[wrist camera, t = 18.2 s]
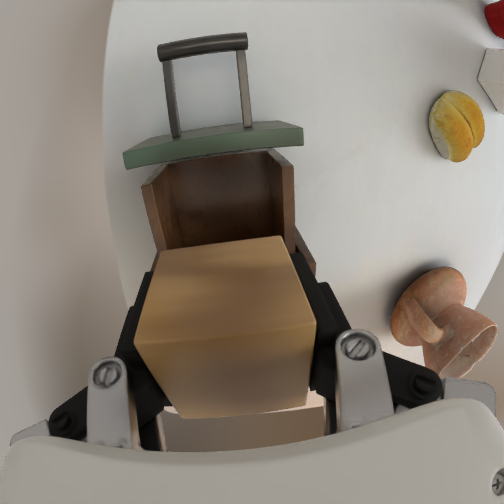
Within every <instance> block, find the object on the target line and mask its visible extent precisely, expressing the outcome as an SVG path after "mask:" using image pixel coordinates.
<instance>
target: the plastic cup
mask: <svg viewBox="0 0 504 504" xmlns="http://www.w3.org/2000/svg"><path fill="white" fill-rule="evenodd" d="M485 15H486V19H487V21H488V24H489V25H490V27H491V29H492V31H493V32H494V33H495V34H496V35H497V36H498V37H499V38H502V39H504V0H500V1H499V2H495V3H492V4H489V5H487V6H486V7H485Z"/></svg>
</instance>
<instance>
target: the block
mask: <svg viewBox="0 0 504 504" xmlns="http://www.w3.org/2000/svg"><path fill="white" fill-rule="evenodd" d="M316 323H317V322H316V319H315V317H314V314H313V312H312V309H311V307H310V304H309V302H308V299H307V297H306V294H305V292H304V289H303V287H302V284H301V282H300V280H299V277H298V275H297V272H296V270H295V268H294V265H293V263H292V260H291V258H290V256H289V253H288V251H287V248H286V246H285V244H284V241H283V239H282V237H281V236H271V237H263V238H255V239H247V240H239V241H232V242H224V243H216V244H209V245H201V246H194V247H187V248H179V249H172V250H165V251H161V253H160V255H159V258H158V261H157V264H156V267H155V270H154V273H153V276H152V279H151V283H150V286H149V289H148V292H147V295H146V299H145V302H144V305H143V309H142V312H141V316H140V319H139V323H138V326H137V330H136V334H135V338H134V345H135V347H136V349H137V351H138V352H139V354H140V356H141V357H142V359H143V361H144V362H145V364H146V366H147V367H148V369H149V371H150V372H151V374H152V375H153V377H154V378H155V380H156V382H157V383H158V385H159V386H160V388H161V389H162V391H163V392H164V394H165V395H166V397H167V398H168V399H169V401H170V402H171V404H172V405H173V407H174V408H175V409H176V411H177V412H178V413H179V415H180V416H181V417H182V418H183V419H189V418H190V419H192V418H213V417H227V416H238V415H248V414H256V413H264V412H270V411H277V410H283V409H289V408H294V407H299V406H304V405H306V400H307V393H308V387H309V380H310V373H311V366H312V358H313V350H314V341H315V333H316Z"/></svg>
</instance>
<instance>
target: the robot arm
mask: <svg viewBox="0 0 504 504" xmlns="http://www.w3.org/2000/svg"><path fill="white" fill-rule="evenodd" d="M289 256H290V258H291V260H292V263H293V265H294V268H295V270H296V272H297V275H298V277H299V280H300V282H301V284H302V287H303V289H304V292H305V294H306V297H307V299H308V302H309V304H310V307H311V309H312V312H313V314H314V317H315V319H316V322H317V323H316V333H315V341H314V350H313V358H312V366H311V373H310V380H309V387H310V391H314V390H316V393H317V394H319V395H321V396H323V397H324V437H319V438H316V439H311V440H306V441H301V442H296V443H291V444H285V445H278V446H271V447H264V448H256V449H248V450H237V451H222V452H168V450H167V446H166V441H165V436H164V431H163V426H162V420H161V415H160V412H161V411H163V410H164V406H172V404H171V402H170V401H169V399H168V398H167V397H166V395H165V394H164V392H163V391H162V389H161V388H160V386H159V385H158V383H157V382H156V380H155V378H154V377H153V375H152V374H151V372H150V371H149V369H148V367H147V366H146V364H145V362H144V361H143V359H142V357H141V356H140V354H139V352H138V351H137V349H136V347H135V345H134V338H135V334H136V330H137V326H138V323H139V319H140V316H141V312H142V309H143V305H144V302H145V299H146V295H147V292H148V289H149V286H150V283H151V279H152V276H153V273H154V271H150V272H146V273H145V275H144V278H143V280H142V283H141V286H140V289H139V292H138V295H137V298H136V301H135V303H134V306H131V307H130V309H129V311H128V314H127V317H126V320H125V323H124V326H123V329H122V332H121V335H120V339H119V342H118V345H117V349H116V352H115V355H114V357H105V358H102V359H101V360H99V361H97V362H96V363H95V364H94V365H93V366H92V368H91V370H90V373H89V377H88V378H89V379H88V386H87V387H85V388H84V389H83V390H82V391H80V392H79V393H77V394H76V395H74V396H73V397H72V398H70V399H69V400H68V401H66V402H65V403H63V404H62V405H61V406H59V407H58V408H56V409H55V410H54V411H53V412H52V414H51V416H50V419H49V421H47V420H46V419H45V420H43V421H41V422H39V423H37V424H35V425H33V426H31V427H28V428H26V429H24V430H22V431H20V432H18V433H16V434H15V435H14V436H13V437H12V439H11V442H10V448H9V450H8V452H7V454H6V456H5V459H4V463H3V466H2V470H1V475H0V504H504V431H503V429H502V427H501V425H500V424H499V422H498V420H497V419H496V394H495V391H494V389H493V387H492V386H490V385H489V384H487V383H485V382H478V381H471V380H465V379H459V378H453V377H447V376H445V378H444V379H441V378H440V377H439V375H438V374H437V373H436V372H435V371H433V370H431V369H429V368H426V367H424V366H421V365H418V364H415V363H413V362H410V361H407V360H404V359H402V358H399V357H396V356H394V355H391V354H389V353H386V352H383V351H382V349H381V345H380V342H379V340H378V338H377V337H376V336H375V335H374V334H372V333H371V332H369V331H366V330H363V329H351V327H350V325H349V323H348V321H347V319H346V317H345V315H344V313H343V311H342V309H341V307H340V305H339V303H338V301H337V299H336V297H335V295H334V293H333V291H332V290H331V288H330V286H329V284H328V283H327V282H322V283H317V281H316V278H315V276H314V274H313V272H312V270H311V268H310V266H309V264H308V262H307V260H306V258H305V256H304V254H303V253H302V252H297V253H289Z"/></svg>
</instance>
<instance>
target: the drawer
mask: <svg viewBox="0 0 504 504" xmlns="http://www.w3.org/2000/svg"><path fill="white" fill-rule="evenodd" d="M247 49H248V38H247V33H246V32H244V33H231V34H220V35H212V36H204V37H197V38H191V39H185V40H180V41H174V42H169V43H165V44H160V45H158V47H157V54H158V58H159V61H160V62H162V63H163V73H164V82H165V91H166V99H167V107H168V114H169V122H170V128H171V134H167V135H162V136H157V137H152V138H149V139H147V140H145V141H143V142H141V143H140V144H138V145H136V146H134V147H132V148H130V149H128V150H127V151H125V152H123V158H124V163H125V168H126V170H128V169H133V168H137V167H142V166H147V165H152V164H157V163H162V162H167V161H172V160H178V159H184V158H190V157H196V156H203V155H210V154H217V153H225V152H233V151H242V150H251V149H262V148H274V147H289V146H303V145H304V138H303V128H302V127H299V126H295V125H292V124H289V123H286V122H282V121H264V122H252V117H251V107H250V96H249V85H248V75H247V64H246V54H245V50H247ZM229 51H236V59H237V69H238V79H239V90H240V100H241V110H242V120H243V123H241V124H231V125H223V126H215V127H208V128H201V129H195V130H189V131H183V132H181V131H180V124H179V116H178V109H177V101H176V93H175V84H174V75H173V65H172V60H174V59H179V58H185V57H191V56H197V55H204V54H211V53H219V52H229ZM141 189H142V194H143V198H144V202H145V206H146V210H147V214H148V218H149V222H150V226H151V230H152V233H153V237H154V241H155V244H156V248H157V251H158V255H160V253H161V251H165V250H172V249H179V248H187V247H194V246H201V245H209V244H216V243H224V242H232V241H239V240H247V239H255V238H263V237H271V236H281V237H282V239H283V241H284V244H285V246H286V248H287V251H288V253H295V200H294V168H293V165H292V164H291V163H290V162H289V161H288V160H286V159H285V158H284V157H283V156H282V155H281V154H280V153H278V152H277V151H276V150H275V149H265V150H254V151H244V152H235V153H227V154H219V155H212V156H205V157H198V158H192V159H185V160H179V161H174V162H168V163H163V164H161V165H160V166H159V167H158V168H157V169H156V170H155V171H154V172H153V174H152V175H151V176H150V177H149V178H148V179H147V180H146V181H145V182H144V183H143V185H142V186H141Z"/></svg>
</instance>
